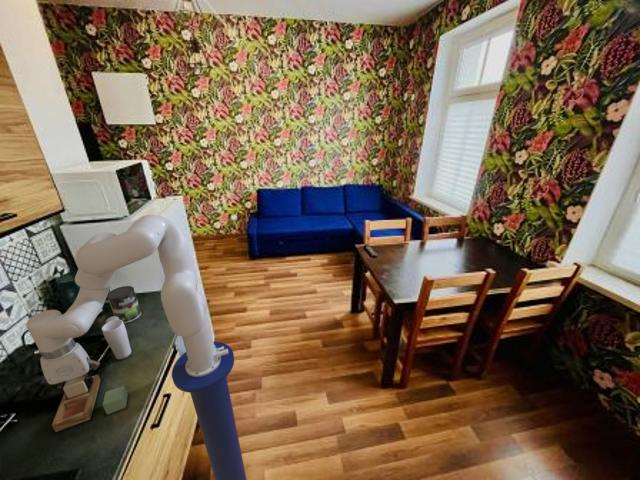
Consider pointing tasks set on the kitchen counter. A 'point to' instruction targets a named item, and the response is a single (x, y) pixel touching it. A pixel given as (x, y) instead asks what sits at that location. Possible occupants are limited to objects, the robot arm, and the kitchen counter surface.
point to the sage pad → (115, 400)
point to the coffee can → (124, 303)
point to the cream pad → (75, 387)
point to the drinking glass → (117, 338)
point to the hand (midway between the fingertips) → (79, 388)
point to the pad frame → (76, 407)
